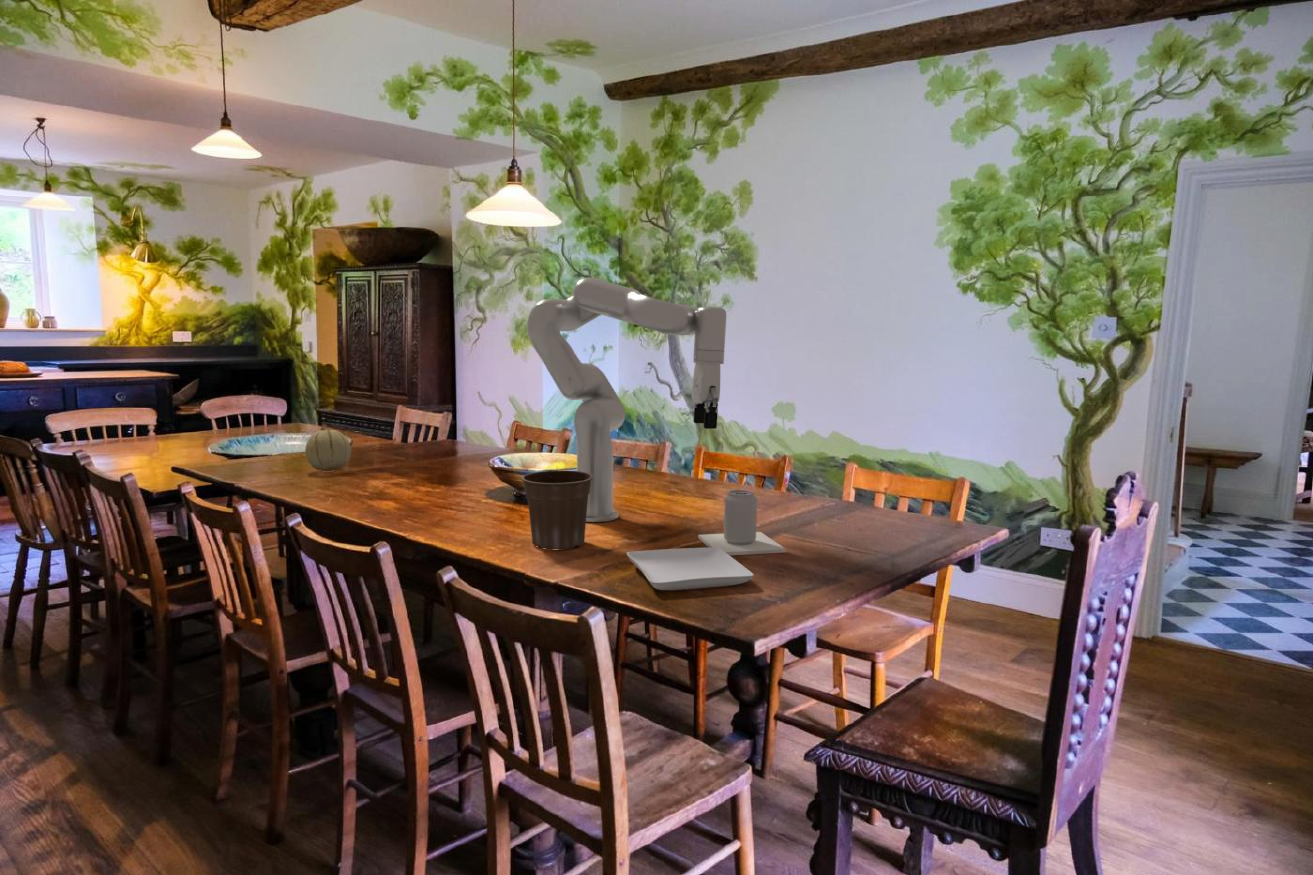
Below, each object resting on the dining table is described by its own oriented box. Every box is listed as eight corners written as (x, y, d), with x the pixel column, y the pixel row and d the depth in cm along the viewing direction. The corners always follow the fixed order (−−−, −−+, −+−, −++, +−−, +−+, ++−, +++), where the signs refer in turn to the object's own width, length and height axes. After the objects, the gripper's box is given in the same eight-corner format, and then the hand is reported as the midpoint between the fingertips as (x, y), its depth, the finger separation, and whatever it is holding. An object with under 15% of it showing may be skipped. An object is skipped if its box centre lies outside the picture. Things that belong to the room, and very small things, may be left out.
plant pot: (526, 555, 179) (525, 483, 177) (518, 537, 195) (518, 471, 193) (598, 551, 184) (599, 481, 182) (585, 533, 199) (585, 469, 197)
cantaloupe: (330, 476, 268) (328, 432, 266) (296, 473, 273) (294, 429, 271) (361, 470, 282) (360, 427, 280) (328, 466, 287) (326, 424, 285)
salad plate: (756, 590, 159) (756, 573, 158) (652, 598, 153) (652, 581, 153) (718, 560, 179) (718, 545, 179) (624, 567, 173) (624, 551, 173)
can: (755, 538, 194) (757, 488, 192) (756, 546, 187) (757, 495, 185) (724, 536, 195) (725, 487, 193) (723, 545, 187) (724, 494, 186)
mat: (718, 556, 181) (719, 552, 181) (698, 538, 196) (698, 534, 196) (785, 552, 185) (785, 548, 185) (760, 534, 200) (760, 531, 200)
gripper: (685, 354, 208) (682, 420, 211) (703, 358, 191) (699, 430, 194) (713, 356, 210) (709, 421, 212) (733, 359, 193) (729, 431, 195)
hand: (704, 425), depth 203 cm, fingers open, 9 cm apart
